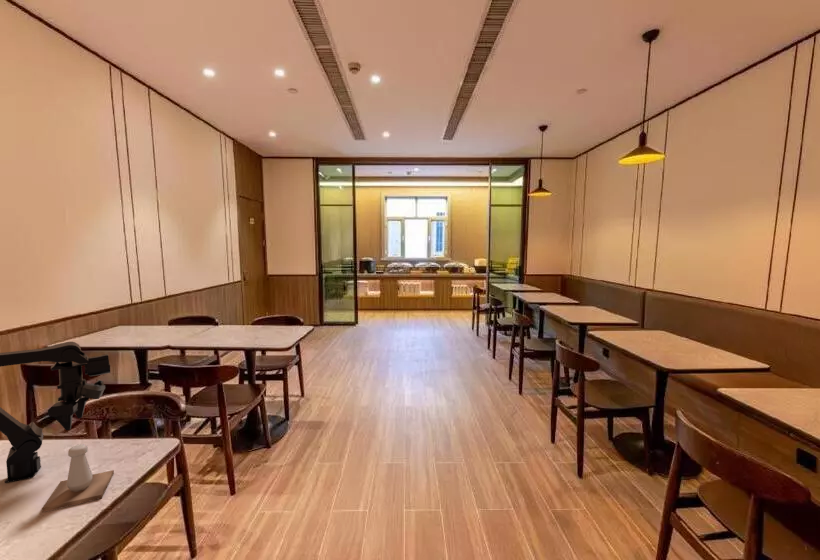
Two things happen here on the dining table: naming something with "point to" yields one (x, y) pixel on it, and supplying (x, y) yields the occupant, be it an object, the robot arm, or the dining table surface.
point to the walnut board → (67, 497)
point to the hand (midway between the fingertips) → (74, 423)
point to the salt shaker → (78, 469)
